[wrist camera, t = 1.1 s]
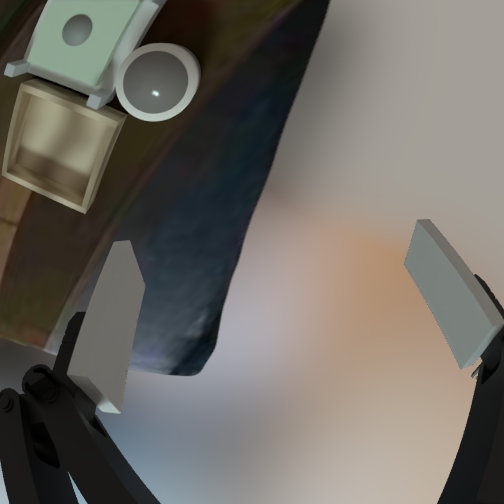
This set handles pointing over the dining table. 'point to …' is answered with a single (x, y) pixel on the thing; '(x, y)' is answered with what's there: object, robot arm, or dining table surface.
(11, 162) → the trough
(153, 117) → the cup
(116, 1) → the plate
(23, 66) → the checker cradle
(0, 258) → the dining table surface
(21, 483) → the robot arm
